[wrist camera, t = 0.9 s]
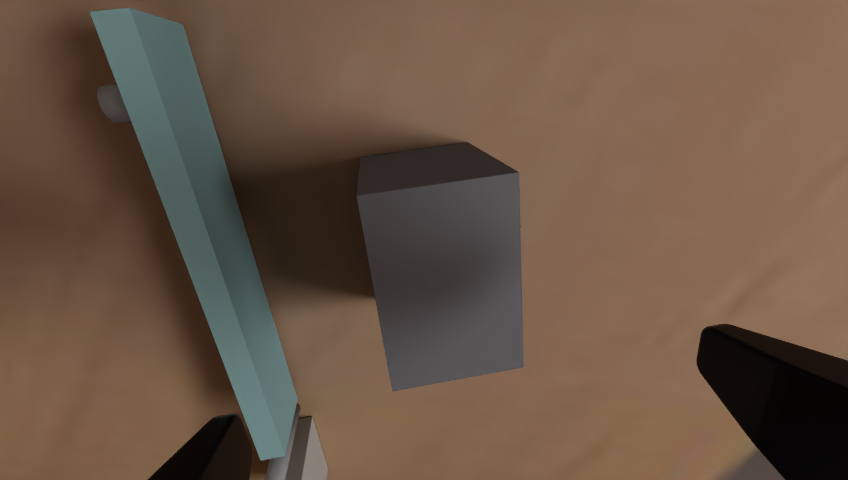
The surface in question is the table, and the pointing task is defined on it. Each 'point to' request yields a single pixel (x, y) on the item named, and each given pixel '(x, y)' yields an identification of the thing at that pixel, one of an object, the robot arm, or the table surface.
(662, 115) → the table surface
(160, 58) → the door
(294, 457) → the wall
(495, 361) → the gray rectangular block
